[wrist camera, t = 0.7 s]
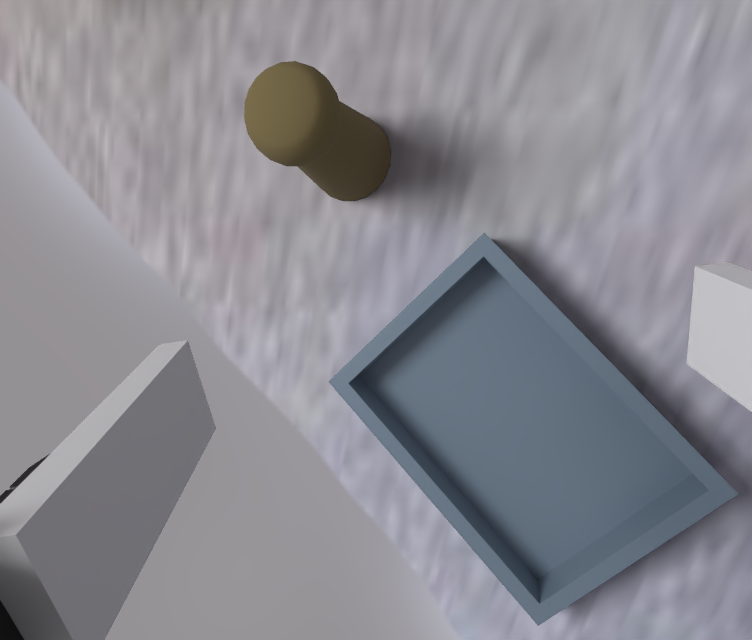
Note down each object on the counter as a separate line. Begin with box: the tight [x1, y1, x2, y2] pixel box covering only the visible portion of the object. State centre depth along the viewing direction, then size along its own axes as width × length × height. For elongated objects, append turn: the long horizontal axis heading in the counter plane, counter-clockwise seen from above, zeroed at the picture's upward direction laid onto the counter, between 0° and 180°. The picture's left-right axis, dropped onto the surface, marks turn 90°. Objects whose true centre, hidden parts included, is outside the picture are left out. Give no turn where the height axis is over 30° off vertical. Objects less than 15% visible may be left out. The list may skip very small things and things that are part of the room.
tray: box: [329, 233, 738, 626], centre depth 31 cm, size 20×14×4 cm
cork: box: [244, 61, 391, 201], centre depth 30 cm, size 6×6×11 cm
